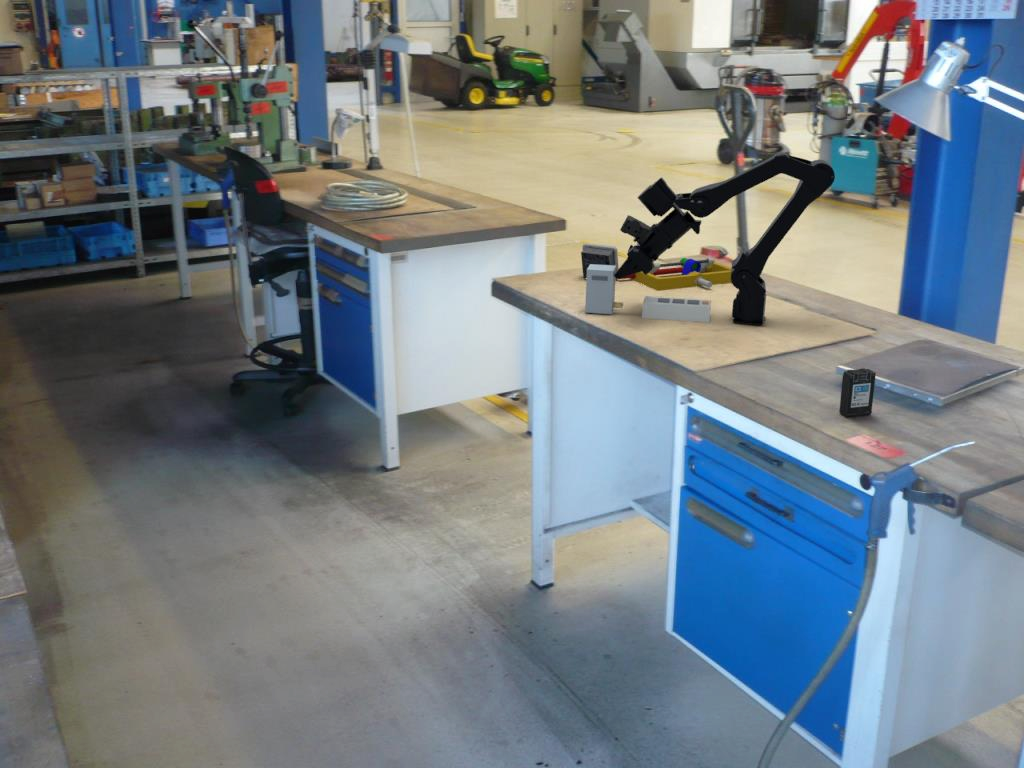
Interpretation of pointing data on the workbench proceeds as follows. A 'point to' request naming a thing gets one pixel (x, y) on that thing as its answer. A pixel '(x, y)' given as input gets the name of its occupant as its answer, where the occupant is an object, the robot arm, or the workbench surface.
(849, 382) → the ink cartridge
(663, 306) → the power strip
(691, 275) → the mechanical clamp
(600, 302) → the charger
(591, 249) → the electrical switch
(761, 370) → the workbench surface
